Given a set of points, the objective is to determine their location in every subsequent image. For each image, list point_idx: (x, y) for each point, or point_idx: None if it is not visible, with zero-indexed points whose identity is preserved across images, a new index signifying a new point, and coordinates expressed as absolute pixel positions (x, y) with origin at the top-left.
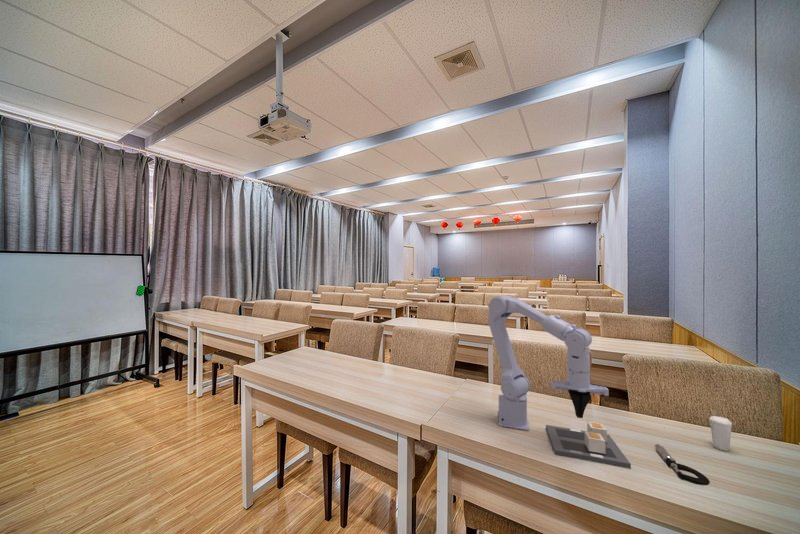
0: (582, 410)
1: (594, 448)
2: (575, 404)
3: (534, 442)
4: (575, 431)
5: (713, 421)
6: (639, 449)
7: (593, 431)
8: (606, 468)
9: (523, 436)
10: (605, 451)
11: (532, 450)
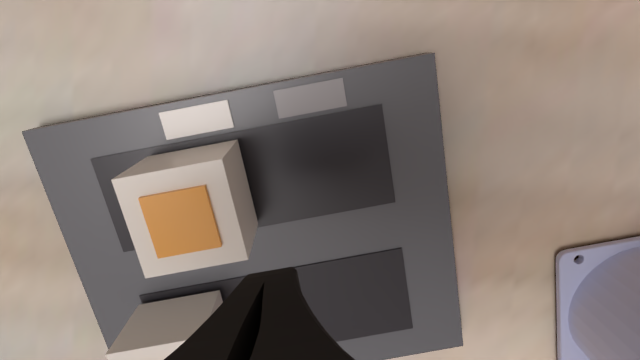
0: (229, 311)
1: (201, 149)
2: (317, 334)
3: (535, 133)
4: None
5: None
6: (2, 353)
7: (195, 325)
8: (156, 54)
9: (594, 171)
10: None
11: (556, 26)
